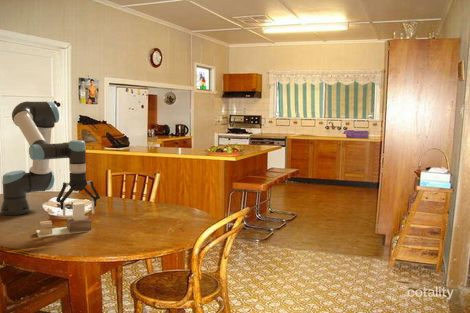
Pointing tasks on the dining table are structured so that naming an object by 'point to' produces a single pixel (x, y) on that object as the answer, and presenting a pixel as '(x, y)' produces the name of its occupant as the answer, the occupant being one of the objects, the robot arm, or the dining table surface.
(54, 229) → the build board
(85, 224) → the plinth
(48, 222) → the oak cube
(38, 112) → the robot arm
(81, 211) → the white block
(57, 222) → the dining table surface
